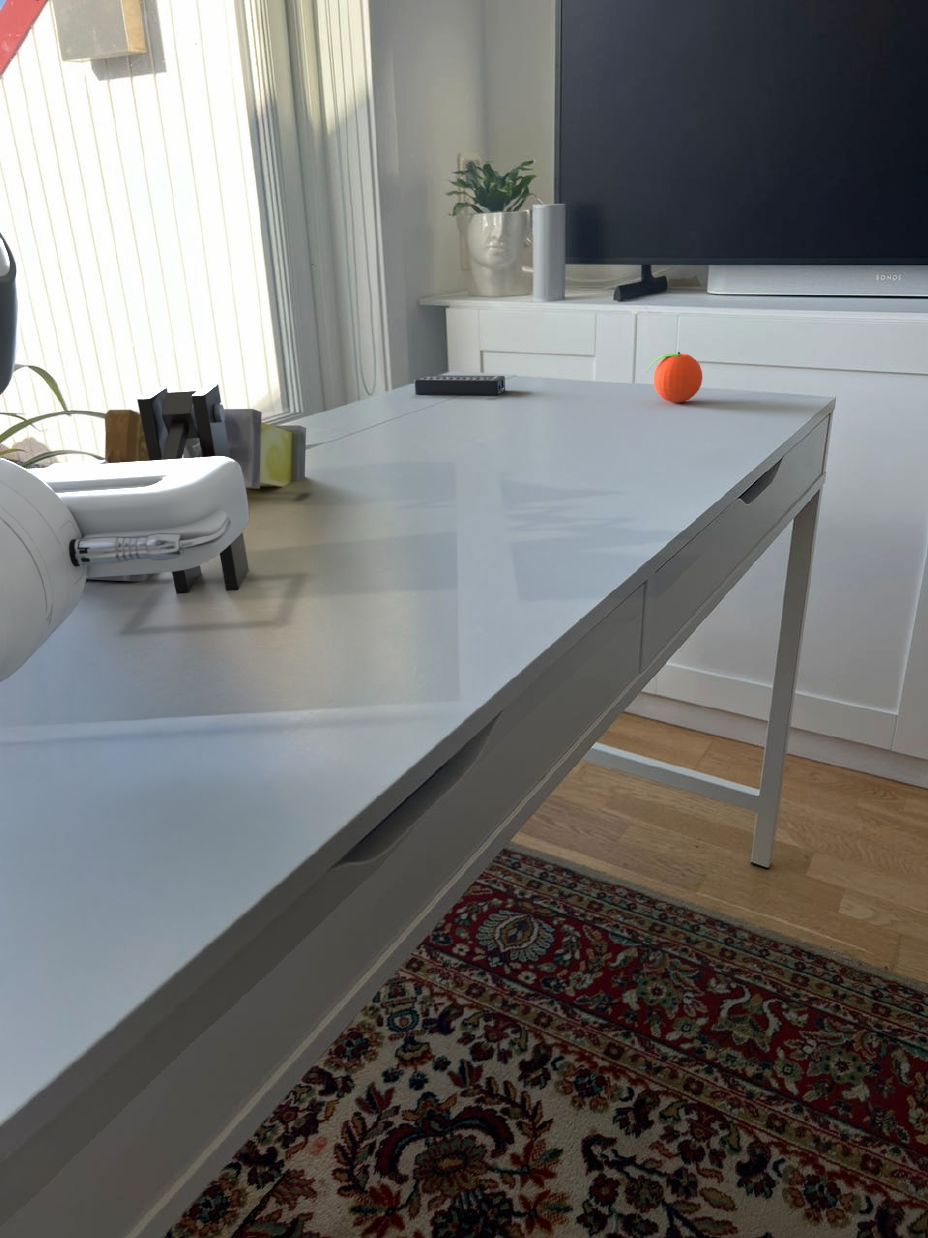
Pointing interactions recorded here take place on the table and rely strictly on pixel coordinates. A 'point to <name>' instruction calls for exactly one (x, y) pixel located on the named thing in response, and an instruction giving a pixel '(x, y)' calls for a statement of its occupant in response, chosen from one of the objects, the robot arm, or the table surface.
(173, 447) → the switch lever
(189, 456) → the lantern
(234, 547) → the switch bracket
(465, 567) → the table surface
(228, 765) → the table surface
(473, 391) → the multiport hub
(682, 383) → the clementine
